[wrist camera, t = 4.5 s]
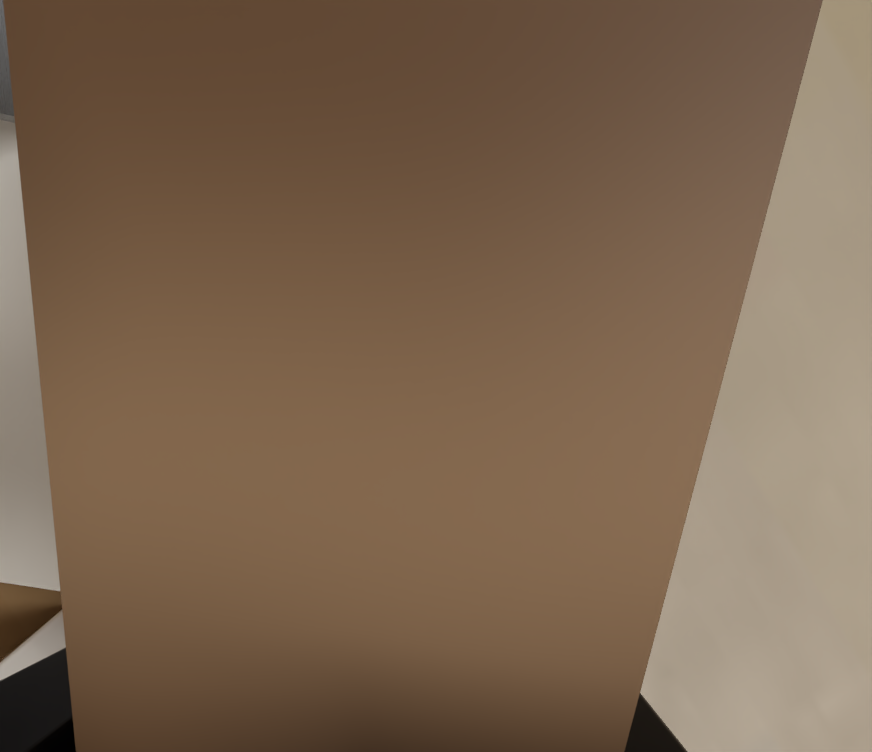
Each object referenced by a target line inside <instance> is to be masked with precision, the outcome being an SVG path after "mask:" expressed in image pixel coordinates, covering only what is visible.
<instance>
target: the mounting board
mask: <svg viewBox="0 0 872 752" xmlns="http://www.w3.org/2000/svg"><path fill="white" fill-rule="evenodd" d="M0 582H3V583H9V584H16V585H22V586H29V587H36V588H42V589H49V590H55V591H60V582H59V572H58V561H57V551H56V541H55V530H54V520H53V510H52V499H51V489H50V479H49V468H48V458H47V448H46V437H45V427H44V417H43V406H42V396H41V386H40V376H39V365H38V355H37V345H36V334H35V324H34V314H33V303H32V293H31V283H30V272H29V262H28V252H27V241H26V231H25V221H24V211H23V200H22V190H21V180H20V169H19V159H18V149H17V138H16V128H15V123H12V122H8V121H3V120H0Z"/></svg>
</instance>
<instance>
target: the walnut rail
mask: <svg viewBox="0 0 872 752" xmlns="http://www.w3.org/2000/svg"><path fill="white" fill-rule="evenodd" d="M822 1H823V0H3V4H4V14H5V25H6V35H7V45H8V56H9V66H10V76H11V87H12V97H13V107H14V118H15V128H16V138H17V149H18V159H19V169H20V180H21V190H22V200H23V211H24V221H25V231H26V241H27V252H28V262H29V272H30V283H31V293H32V303H33V314H34V324H35V334H36V345H37V355H38V365H39V376H40V386H41V396H42V406H43V417H44V427H45V437H46V448H47V458H48V468H49V479H50V489H51V499H52V510H53V520H54V530H55V541H56V551H57V561H58V572H59V582H60V592H61V602H62V613H63V623H64V633H65V644H66V654H67V664H68V675H69V685H70V695H71V706H72V716H73V726H74V737H75V747H76V752H624V751H625V747H626V743H627V740H628V736H629V732H630V728H631V724H632V721H633V717H634V713H635V709H636V705H637V702H638V698H639V694H640V690H641V687H642V683H643V679H644V675H645V671H646V668H647V664H648V660H649V656H650V652H651V649H652V645H653V641H654V637H655V633H656V630H657V626H658V622H659V618H660V615H661V611H662V607H663V603H664V599H665V596H666V592H667V588H668V584H669V580H670V577H671V573H672V569H673V565H674V561H675V558H676V554H677V550H678V546H679V543H680V539H681V535H682V531H683V527H684V524H685V520H686V516H687V512H688V508H689V505H690V501H691V497H692V493H693V489H694V486H695V482H696V478H697V474H698V471H699V467H700V463H701V459H702V455H703V452H704V448H705V444H706V440H707V436H708V433H709V429H710V425H711V421H712V417H713V414H714V410H715V406H716V402H717V399H718V395H719V391H720V387H721V383H722V380H723V376H724V372H725V368H726V364H727V361H728V357H729V353H730V349H731V345H732V342H733V338H734V334H735V330H736V327H737V323H738V319H739V315H740V311H741V308H742V304H743V300H744V296H745V292H746V289H747V285H748V281H749V277H750V274H751V270H752V266H753V262H754V258H755V255H756V251H757V247H758V243H759V239H760V236H761V232H762V228H763V224H764V220H765V217H766V213H767V209H768V205H769V202H770V198H771V194H772V190H773V186H774V183H775V179H776V175H777V171H778V167H779V164H780V160H781V156H782V152H783V148H784V145H785V141H786V137H787V133H788V130H789V126H790V122H791V118H792V114H793V111H794V107H795V103H796V99H797V95H798V92H799V88H800V84H801V80H802V76H803V73H804V69H805V65H806V61H807V58H808V54H809V50H810V46H811V42H812V39H813V35H814V31H815V27H816V23H817V20H818V16H819V12H820V8H821V4H822Z"/></svg>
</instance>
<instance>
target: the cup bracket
mask: <svg viewBox="0 0 872 752" xmlns="http://www.w3.org/2000/svg"><path fill="white" fill-rule="evenodd" d="M0 120H3V121H8V122H12V123H15V118H14V107H13V97H12V87H11V76H10V66H9V56H8V45H7V35H6V25H5V14H4V4H3V0H0Z"/></svg>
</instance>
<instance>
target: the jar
mask: <svg viewBox="0 0 872 752" xmlns="http://www.w3.org/2000/svg"><path fill="white" fill-rule="evenodd" d="M65 647H66V644H65V633H64V623H63V613H62V610H61V611H59V612H58V613H57V614H56V615H54V616H53V617H52V618H51V619H50V620H48V621H47V622H46V623H45V624H43V625H42V626H41V627H40V628H39V629H37V630H36V631H35V632H34V633H32V634H31V635H30V636H29V637H28V638H26V639H25V640H24V641H23V642H21V643H20V644H19V645H18V646H16V647H15V648H14V649H13V650H12V651H10V652H9V653H8V654H7V655H6V656H4V657H3V658H2V659H1V660H0V680H2V679H4V678H6V677H8V676H10V675H12V674H14V673H16V672H18V671H20V670H22V669H24V668H26V667H28V666H30V665H32V664H34V663H36V662H38V661H40V660H42V659H44V658H46V657H48V656H50V655H52V654H54V653H56V652H58V651H60V650H61V649H63V648H65Z"/></svg>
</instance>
